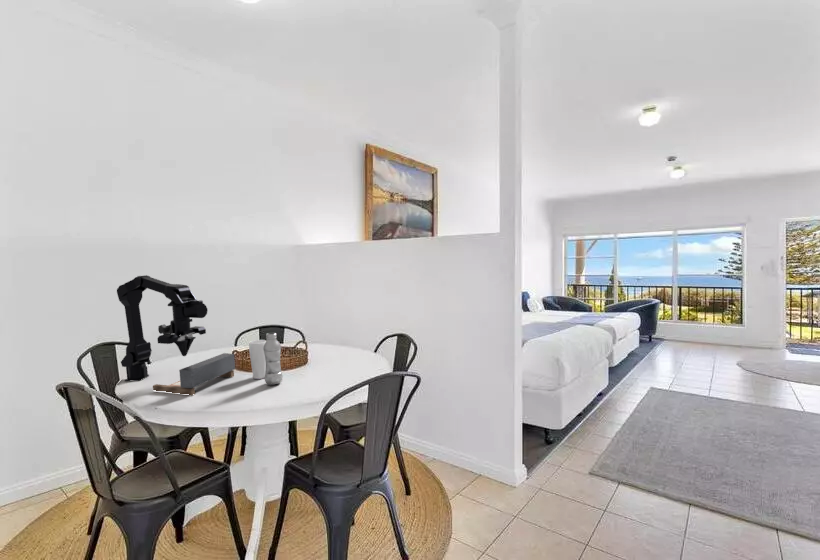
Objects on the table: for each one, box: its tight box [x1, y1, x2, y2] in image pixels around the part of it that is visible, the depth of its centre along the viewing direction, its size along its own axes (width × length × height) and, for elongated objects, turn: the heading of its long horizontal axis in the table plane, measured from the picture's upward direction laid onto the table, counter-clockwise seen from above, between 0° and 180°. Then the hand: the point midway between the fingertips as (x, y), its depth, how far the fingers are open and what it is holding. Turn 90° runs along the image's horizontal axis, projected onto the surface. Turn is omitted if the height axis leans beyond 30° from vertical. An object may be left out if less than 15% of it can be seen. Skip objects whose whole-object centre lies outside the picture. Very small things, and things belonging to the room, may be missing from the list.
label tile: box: [169, 380, 181, 386], centre depth 166 cm, size 8×11×1 cm
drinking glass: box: [248, 339, 267, 380], centre depth 170 cm, size 7×7×15 cm
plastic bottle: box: [263, 332, 284, 386], centre depth 161 cm, size 6×7×20 cm
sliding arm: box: [179, 352, 236, 388], centre depth 163 cm, size 5×23×6 cm, turn 164°
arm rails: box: [152, 369, 235, 396], centre depth 165 cm, size 18×22×2 cm
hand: (184, 355), depth 165 cm, fingers closed
